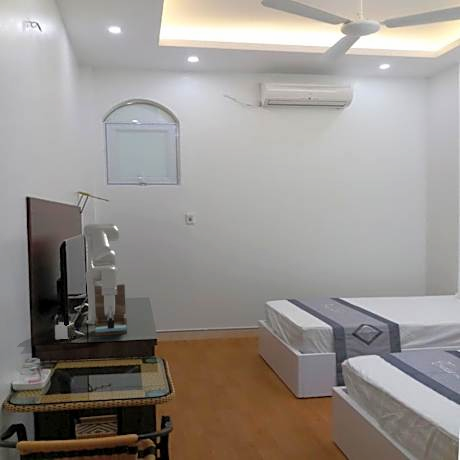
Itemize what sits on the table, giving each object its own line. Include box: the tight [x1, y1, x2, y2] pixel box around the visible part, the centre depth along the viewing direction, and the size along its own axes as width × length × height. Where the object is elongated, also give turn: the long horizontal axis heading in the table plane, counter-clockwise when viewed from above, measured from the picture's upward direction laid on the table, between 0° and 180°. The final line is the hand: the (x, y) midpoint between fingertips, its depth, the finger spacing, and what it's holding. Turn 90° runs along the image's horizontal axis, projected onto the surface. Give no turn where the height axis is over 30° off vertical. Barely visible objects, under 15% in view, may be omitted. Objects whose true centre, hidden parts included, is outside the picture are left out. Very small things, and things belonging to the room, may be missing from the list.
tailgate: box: [94, 325, 128, 332], centre depth 252 cm, size 1×15×10 cm
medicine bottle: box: [54, 314, 76, 340], centre depth 255 cm, size 7×7×12 cm
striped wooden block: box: [94, 283, 128, 337], centre depth 265 cm, size 15×16×24 cm
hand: (110, 328), depth 249 cm, fingers closed
